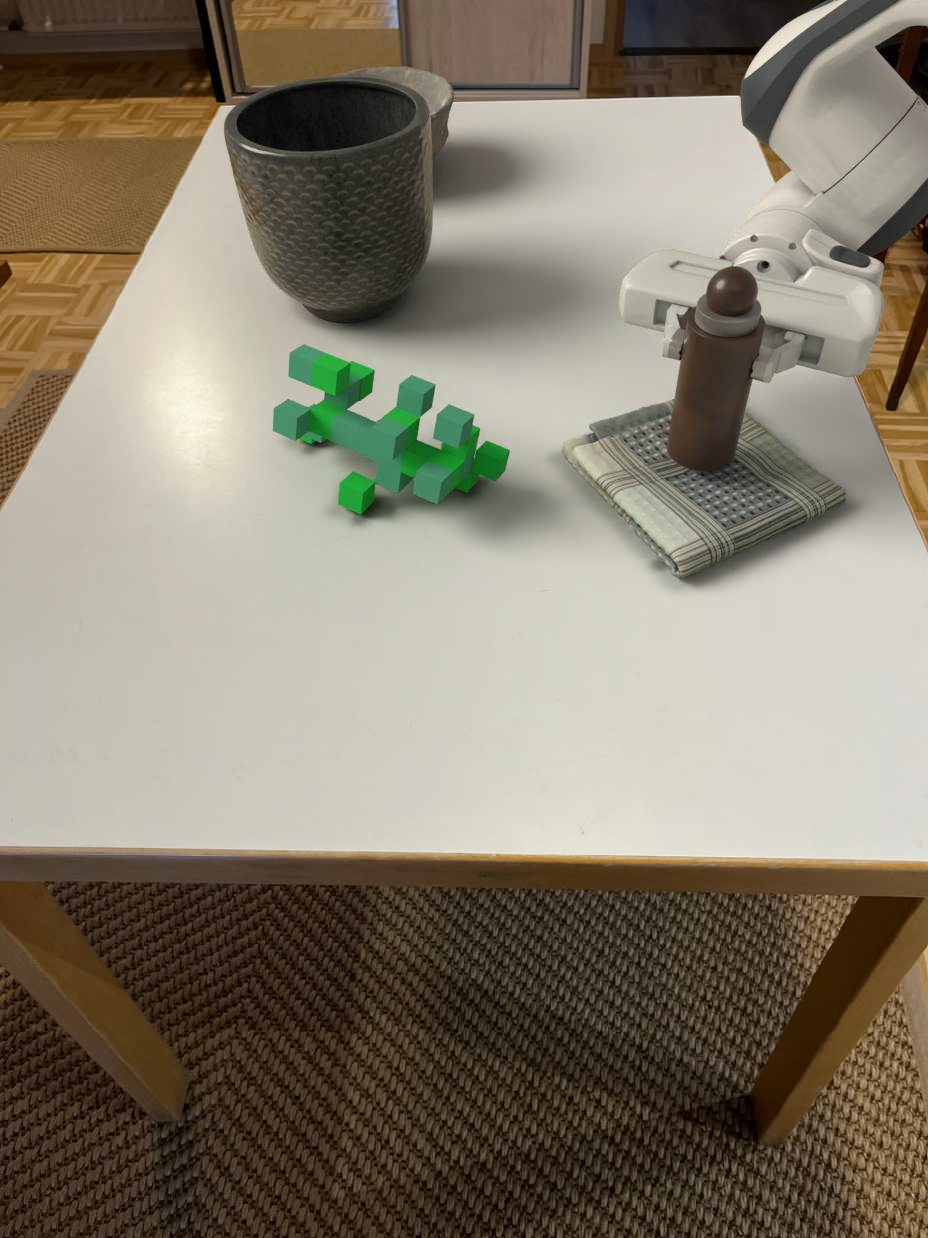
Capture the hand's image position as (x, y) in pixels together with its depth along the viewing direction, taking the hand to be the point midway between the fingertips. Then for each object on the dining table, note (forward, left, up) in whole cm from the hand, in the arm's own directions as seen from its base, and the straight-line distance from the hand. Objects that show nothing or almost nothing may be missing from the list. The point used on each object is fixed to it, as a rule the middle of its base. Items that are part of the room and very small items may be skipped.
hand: (716, 361), depth 70 cm
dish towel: (0, -1, -13) cm, 13 cm away
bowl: (+45, -55, -13) cm, 72 cm away
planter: (+39, -25, -13) cm, 48 cm away
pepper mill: (0, -1, -9) cm, 9 cm away
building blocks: (+26, +4, -13) cm, 29 cm away
